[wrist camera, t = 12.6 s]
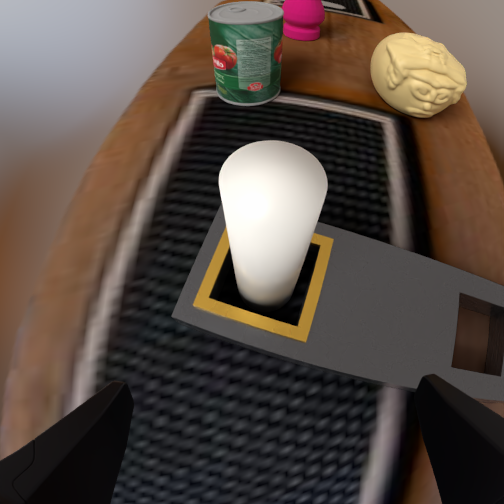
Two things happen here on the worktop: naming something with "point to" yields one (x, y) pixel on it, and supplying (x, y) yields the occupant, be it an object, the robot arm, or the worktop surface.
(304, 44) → the worktop surface
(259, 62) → the canned tomato
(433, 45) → the sculpture
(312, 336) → the grey board with holes
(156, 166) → the worktop surface
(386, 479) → the worktop surface
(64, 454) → the robot arm
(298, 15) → the pepper mill
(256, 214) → the peg
